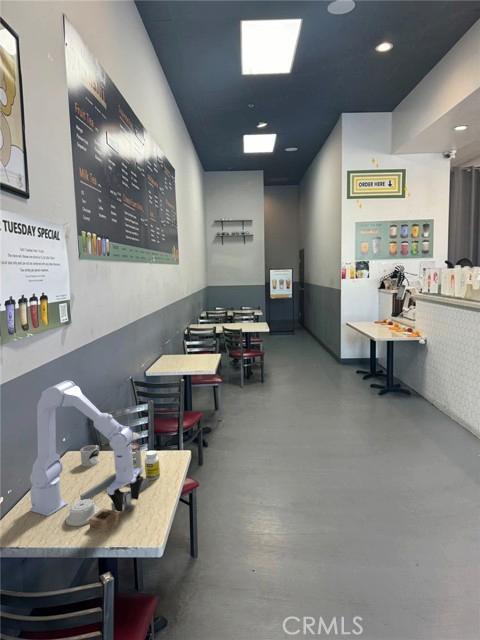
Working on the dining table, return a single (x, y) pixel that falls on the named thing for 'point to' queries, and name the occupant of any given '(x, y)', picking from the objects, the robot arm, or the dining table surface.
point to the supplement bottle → (152, 465)
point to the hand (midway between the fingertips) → (127, 504)
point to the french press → (137, 455)
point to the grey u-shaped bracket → (104, 485)
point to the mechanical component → (81, 512)
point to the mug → (89, 455)
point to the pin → (127, 501)
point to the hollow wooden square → (103, 520)
